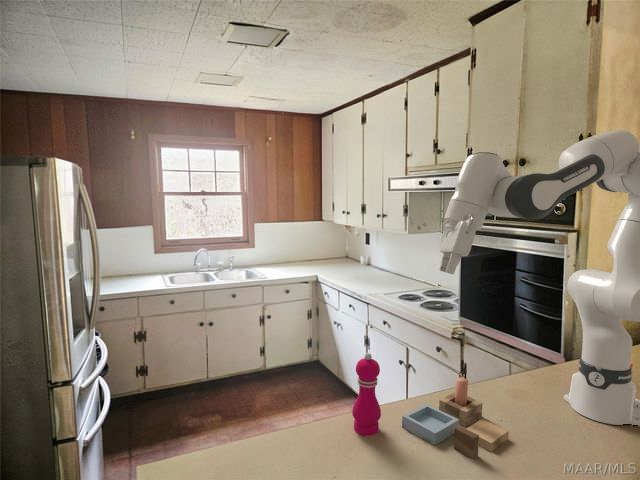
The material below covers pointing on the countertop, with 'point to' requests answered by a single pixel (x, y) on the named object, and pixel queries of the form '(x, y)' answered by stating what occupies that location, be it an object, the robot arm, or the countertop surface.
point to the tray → (430, 423)
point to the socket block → (461, 409)
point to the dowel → (461, 391)
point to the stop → (466, 442)
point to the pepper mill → (367, 397)
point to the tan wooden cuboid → (489, 434)
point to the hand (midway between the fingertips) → (445, 272)
